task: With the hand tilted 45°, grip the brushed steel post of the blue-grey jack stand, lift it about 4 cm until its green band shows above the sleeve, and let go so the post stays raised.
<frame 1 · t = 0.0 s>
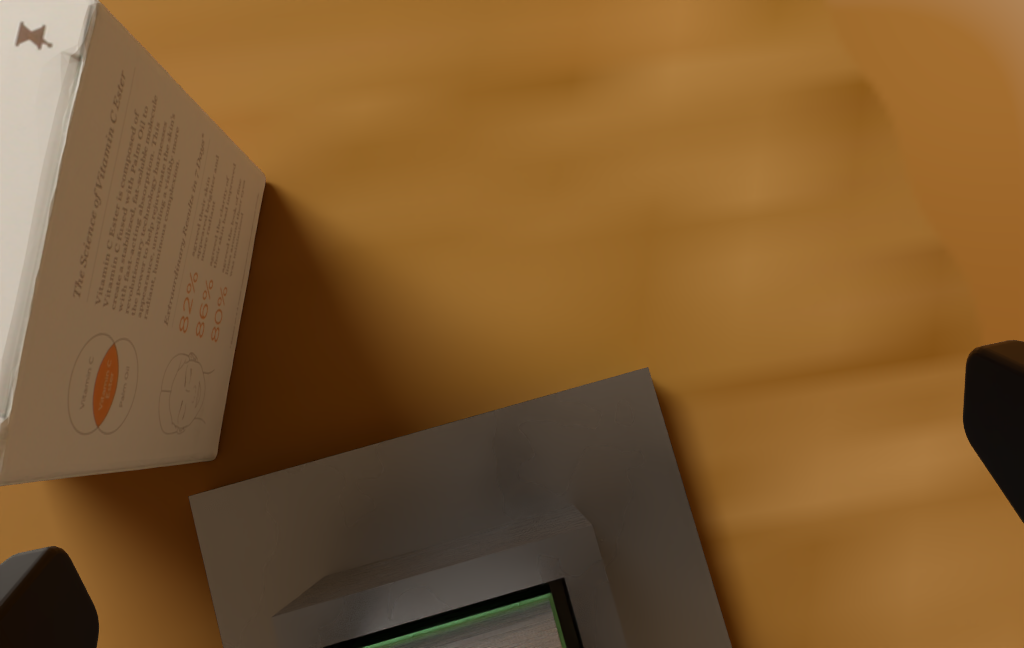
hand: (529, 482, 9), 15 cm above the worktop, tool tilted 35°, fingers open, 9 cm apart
small box: (148, 304, 24), on the worktop
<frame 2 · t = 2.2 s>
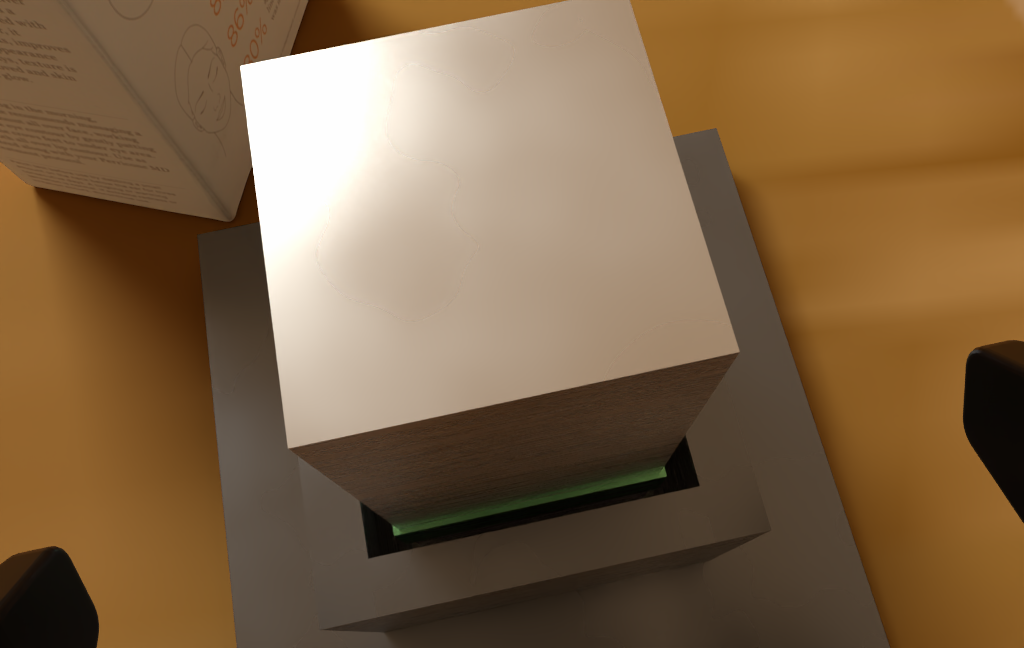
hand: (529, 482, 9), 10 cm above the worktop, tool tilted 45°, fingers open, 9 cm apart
small box: (185, 79, 23), on the worktop
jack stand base: (515, 447, 19), on the worktop
jack post: (499, 357, 13), point 6 cm above the worktop, slide at 0.0 cm
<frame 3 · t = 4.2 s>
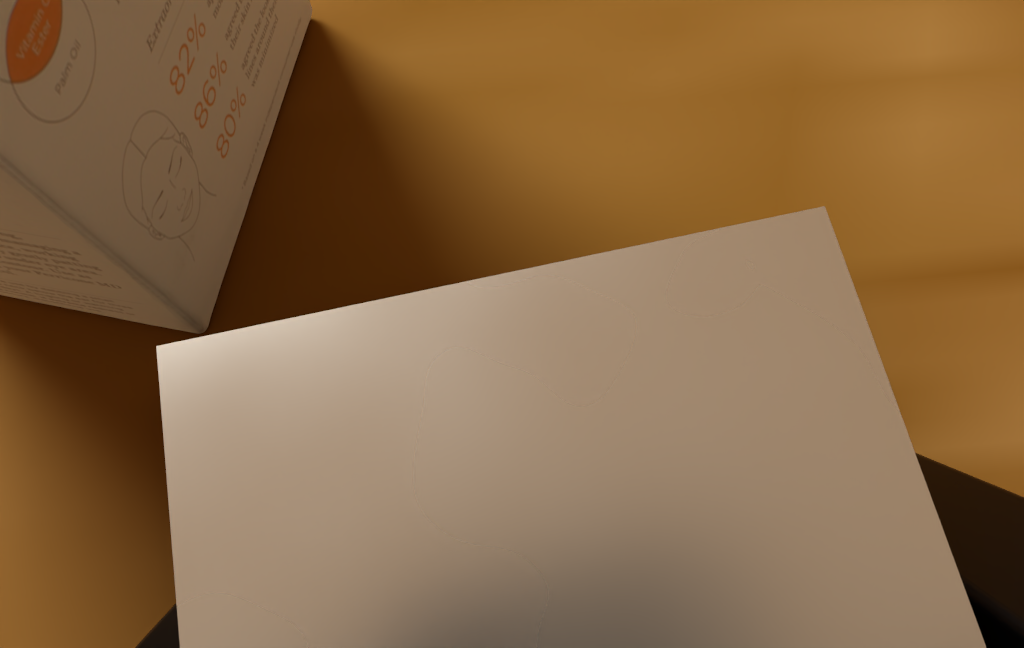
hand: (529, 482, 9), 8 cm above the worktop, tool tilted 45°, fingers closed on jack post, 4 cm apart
small box: (150, 151, 19), on the worktop
jack post: (559, 630, 9), point 6 cm above the worktop, slide at 0.0 cm, touching gripper
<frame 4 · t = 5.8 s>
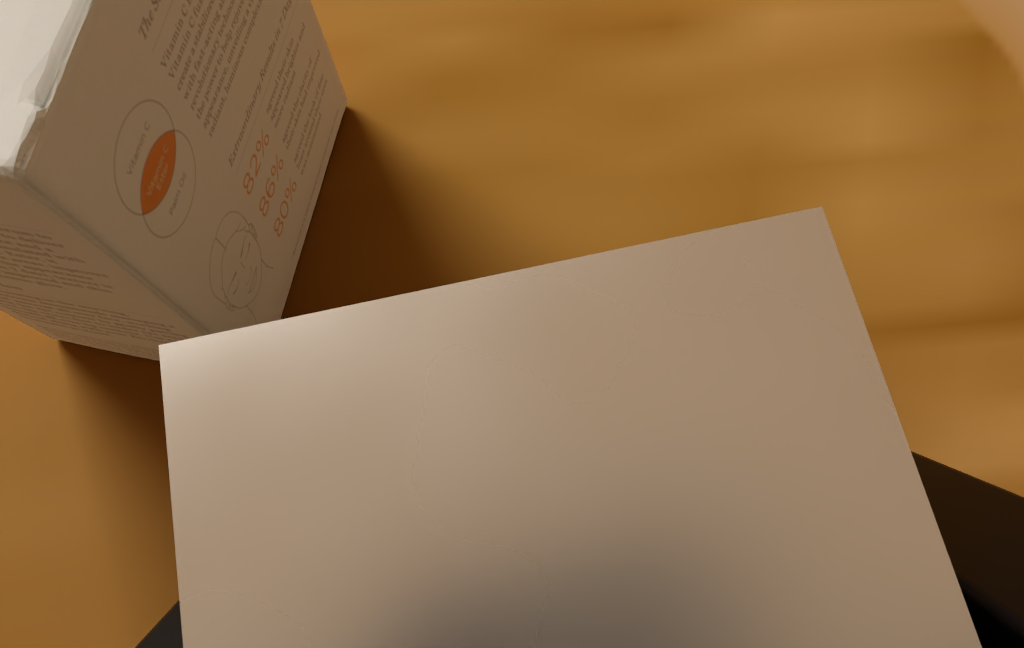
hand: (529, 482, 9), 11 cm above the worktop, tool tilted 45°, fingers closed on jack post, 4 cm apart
small box: (210, 221, 23), on the worktop
jack post: (558, 626, 9), point 10 cm above the worktop, slide at 3.7 cm, touching gripper
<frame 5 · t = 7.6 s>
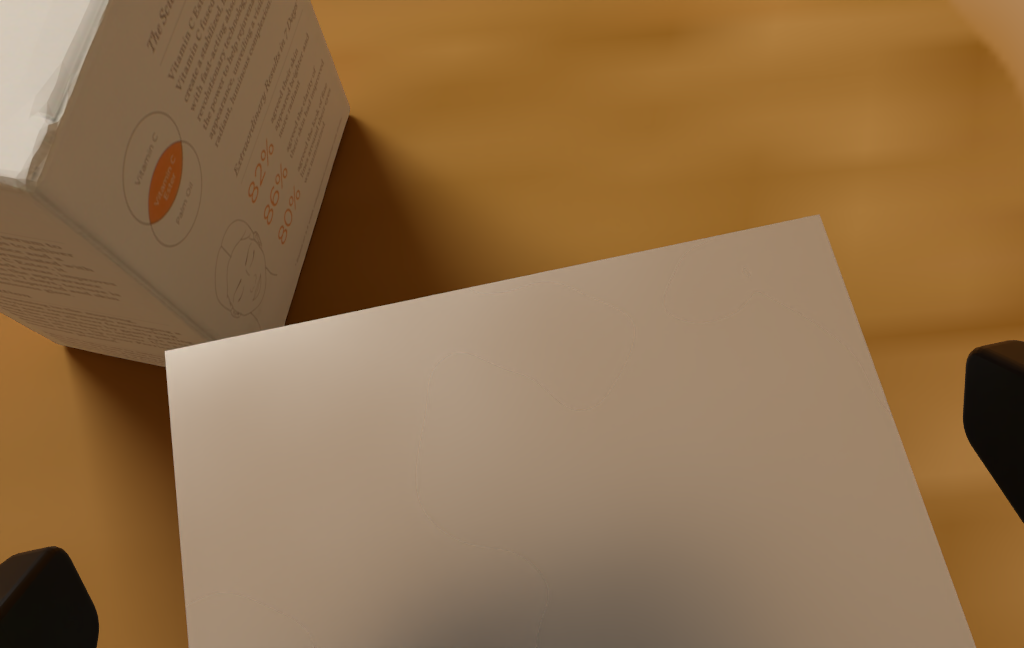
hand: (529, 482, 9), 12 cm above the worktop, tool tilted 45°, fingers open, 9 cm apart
small box: (215, 229, 23), on the worktop
jack post: (559, 629, 9), point 10 cm above the worktop, slide at 3.8 cm
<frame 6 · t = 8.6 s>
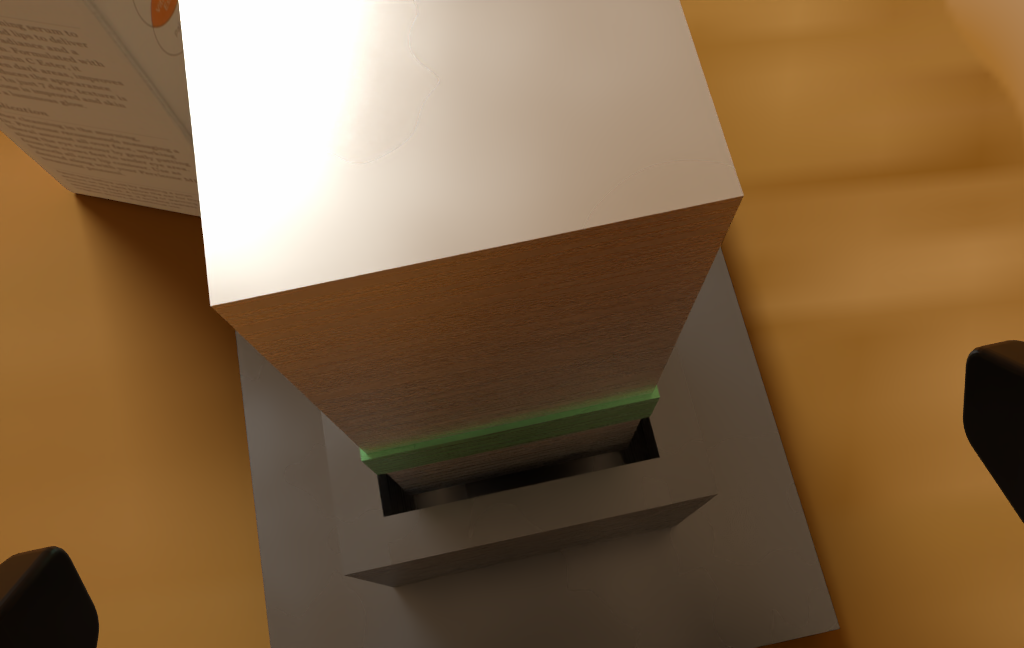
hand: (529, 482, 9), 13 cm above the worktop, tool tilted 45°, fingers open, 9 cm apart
small box: (209, 95, 25), on the worktop
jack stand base: (508, 427, 22), on the worktop
jack post: (477, 265, 12), point 10 cm above the worktop, slide at 3.8 cm
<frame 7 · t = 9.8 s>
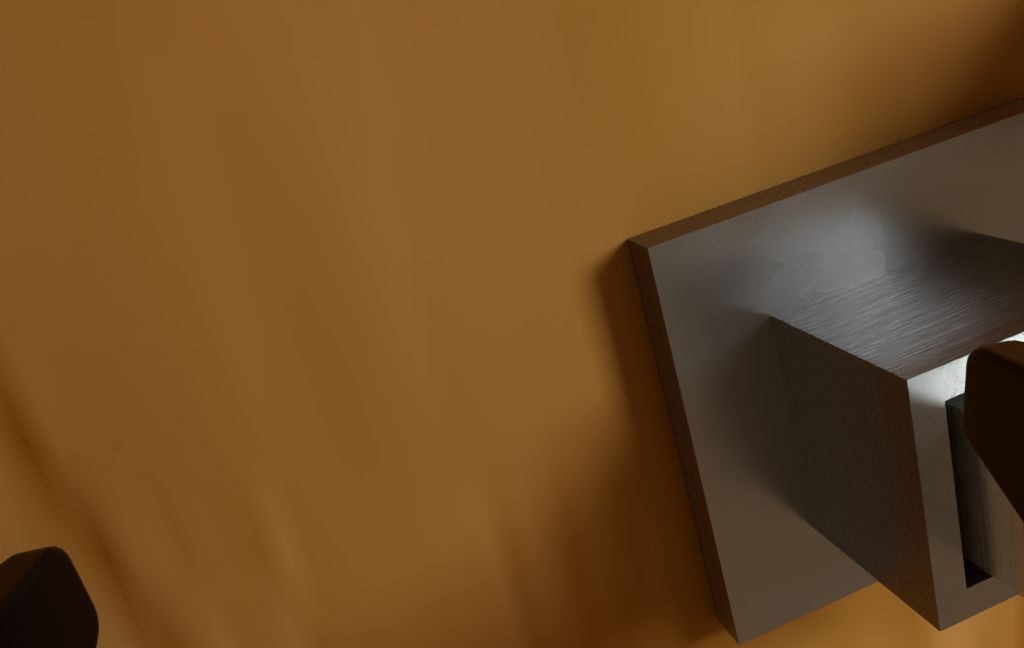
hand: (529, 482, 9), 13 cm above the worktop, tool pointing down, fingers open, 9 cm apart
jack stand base: (865, 368, 25), on the worktop
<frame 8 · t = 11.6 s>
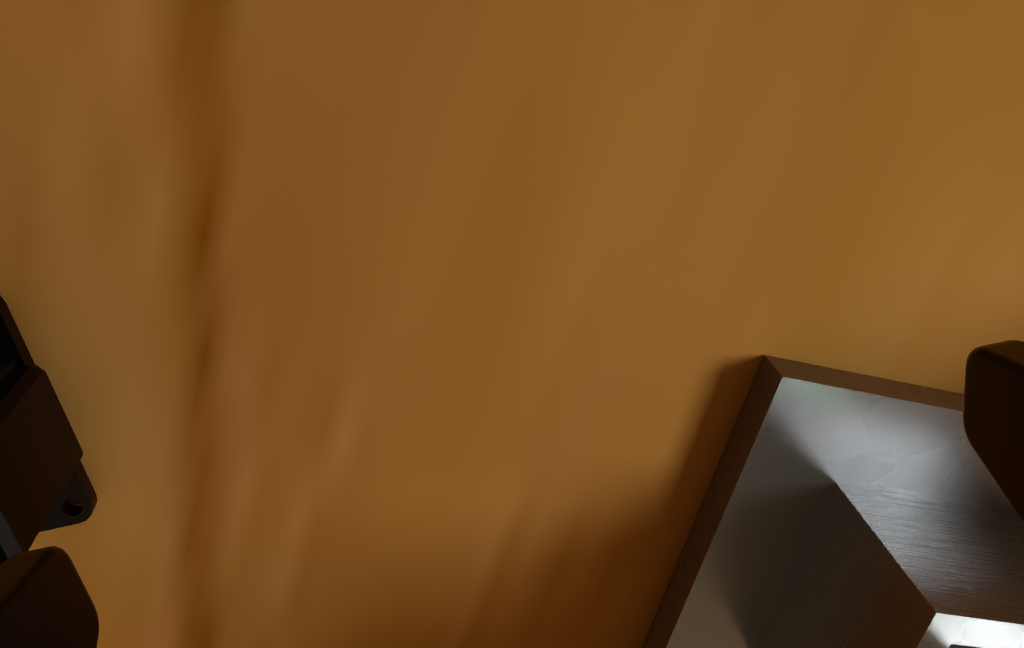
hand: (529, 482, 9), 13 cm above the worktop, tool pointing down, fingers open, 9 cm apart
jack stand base: (869, 560, 27), on the worktop
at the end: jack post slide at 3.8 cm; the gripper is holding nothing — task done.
